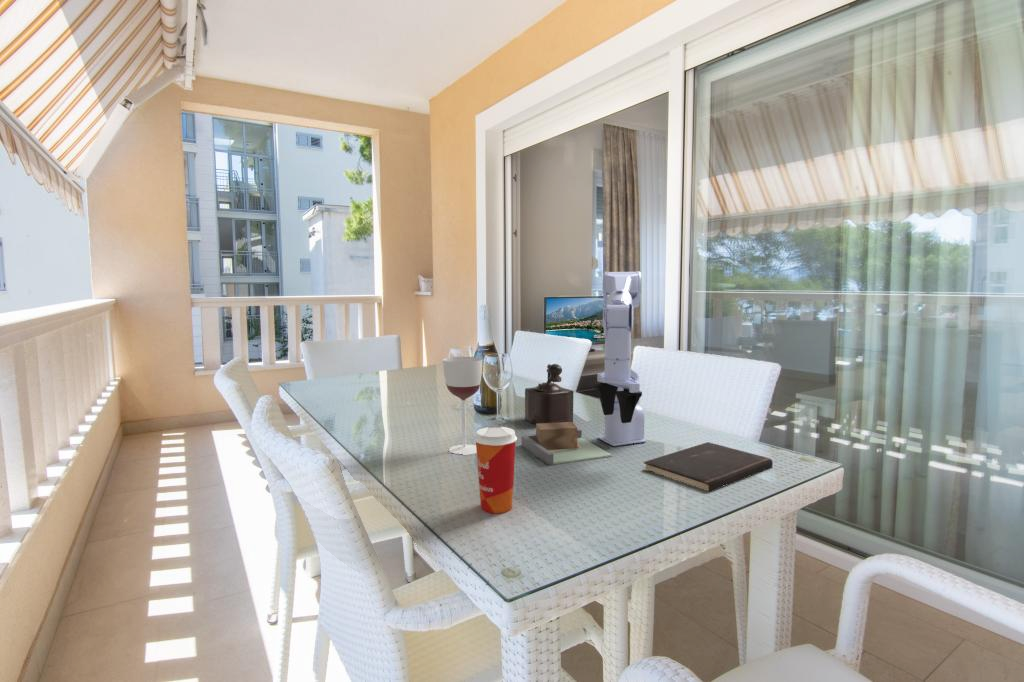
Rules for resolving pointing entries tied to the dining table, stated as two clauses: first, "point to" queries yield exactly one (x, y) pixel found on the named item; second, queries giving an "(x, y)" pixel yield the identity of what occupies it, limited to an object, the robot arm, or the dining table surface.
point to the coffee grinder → (549, 400)
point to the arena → (564, 451)
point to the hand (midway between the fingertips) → (617, 418)
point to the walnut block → (557, 435)
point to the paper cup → (496, 468)
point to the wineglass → (463, 389)
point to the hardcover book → (708, 465)
